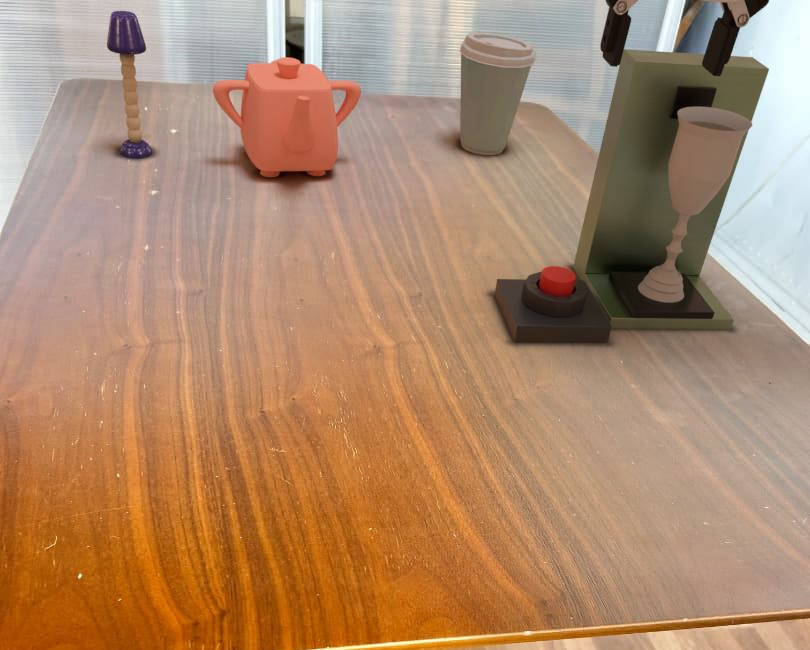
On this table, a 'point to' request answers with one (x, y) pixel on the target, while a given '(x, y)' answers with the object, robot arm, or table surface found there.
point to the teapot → (288, 115)
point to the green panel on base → (656, 189)
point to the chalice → (694, 182)
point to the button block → (550, 313)
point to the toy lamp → (129, 77)
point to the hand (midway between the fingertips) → (660, 66)
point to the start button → (557, 281)
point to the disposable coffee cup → (491, 89)
